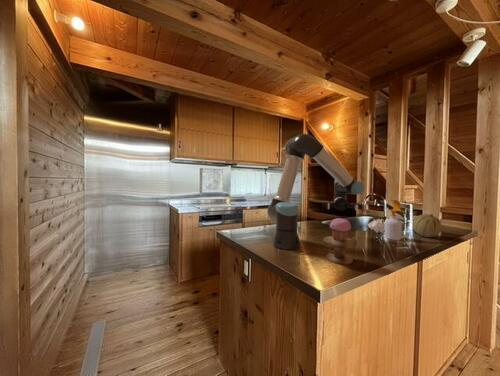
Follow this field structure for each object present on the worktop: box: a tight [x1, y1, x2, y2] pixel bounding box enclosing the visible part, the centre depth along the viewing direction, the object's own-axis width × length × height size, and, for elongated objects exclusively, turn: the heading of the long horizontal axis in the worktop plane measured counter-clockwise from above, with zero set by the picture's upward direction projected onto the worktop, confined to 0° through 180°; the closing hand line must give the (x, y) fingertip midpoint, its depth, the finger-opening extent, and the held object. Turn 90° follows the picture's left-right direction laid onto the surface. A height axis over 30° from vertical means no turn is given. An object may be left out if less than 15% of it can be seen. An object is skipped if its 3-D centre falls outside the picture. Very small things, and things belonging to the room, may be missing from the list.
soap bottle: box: [383, 198, 403, 241], centre depth 136 cm, size 9×9×25 cm
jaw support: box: [366, 218, 385, 234], centre depth 154 cm, size 12×9×10 cm
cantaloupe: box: [412, 214, 443, 238], centre depth 140 cm, size 15×15×15 cm
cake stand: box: [322, 235, 358, 265], centre depth 98 cm, size 14×14×9 cm
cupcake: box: [329, 217, 352, 241], centre depth 98 cm, size 9×9×10 cm
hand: (342, 207), depth 111 cm, fingers open, 13 cm apart
